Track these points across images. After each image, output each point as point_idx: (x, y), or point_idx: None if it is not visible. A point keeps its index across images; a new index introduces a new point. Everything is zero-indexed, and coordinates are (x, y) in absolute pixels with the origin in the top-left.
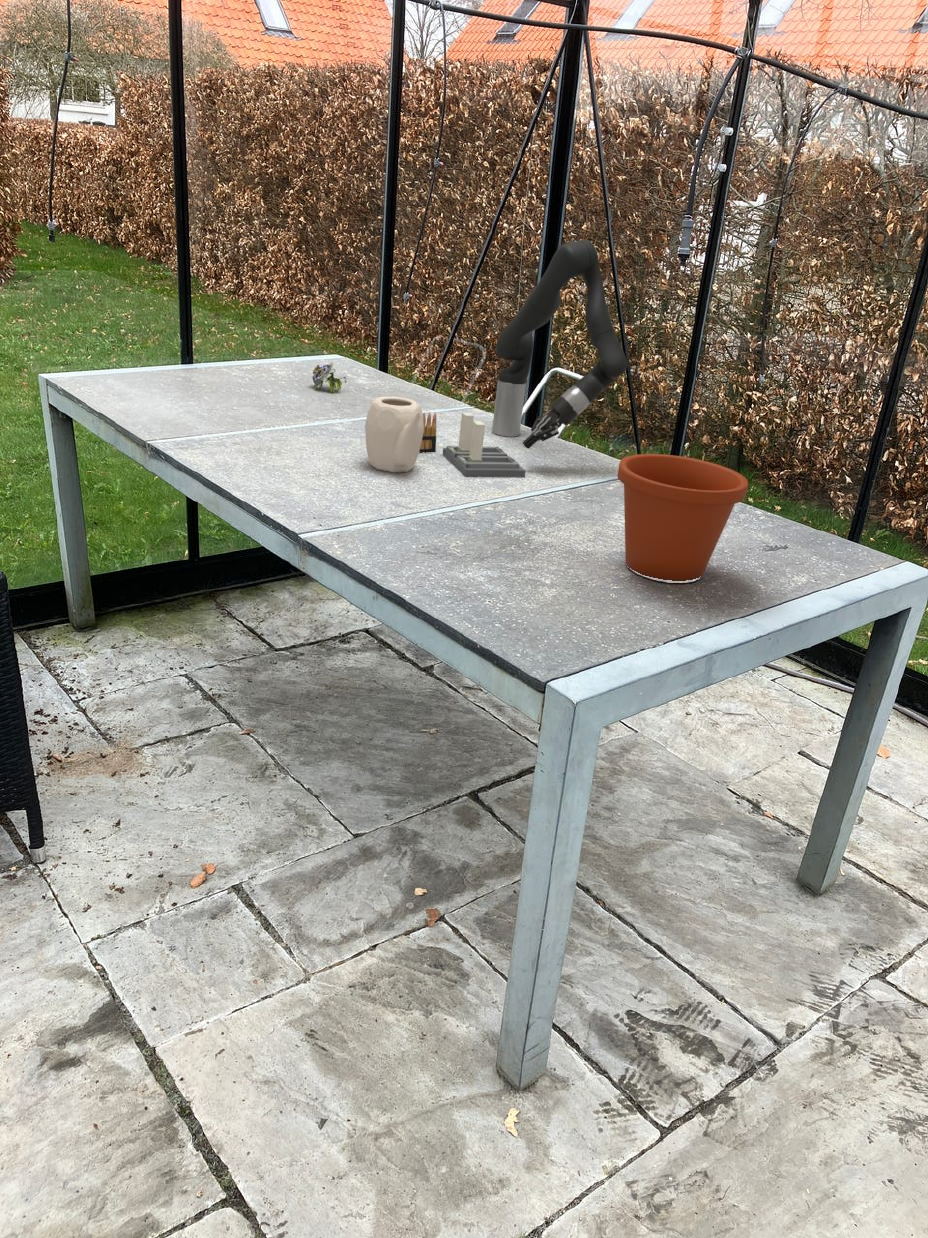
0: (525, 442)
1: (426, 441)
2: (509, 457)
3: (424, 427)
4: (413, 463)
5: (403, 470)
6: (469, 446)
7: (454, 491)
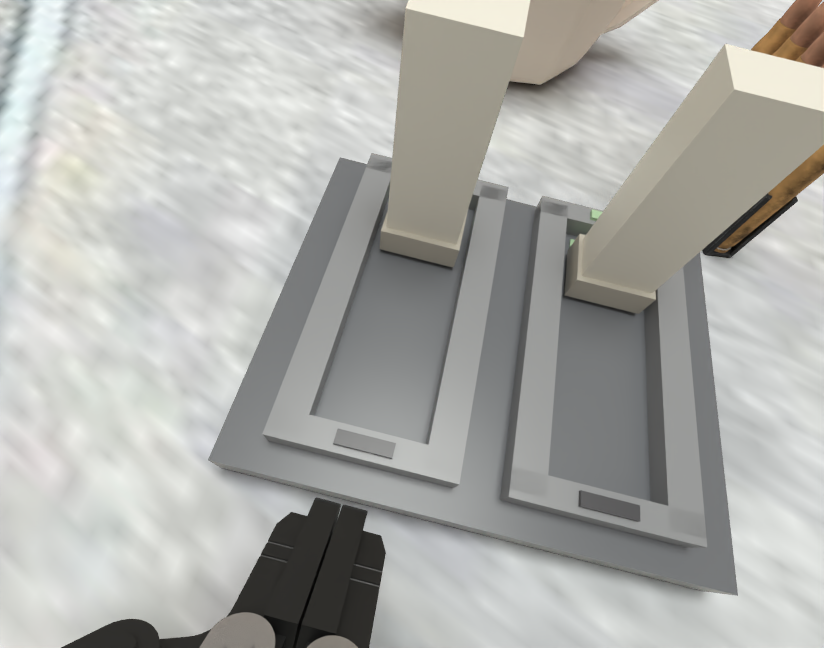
0: (311, 507)
1: None
2: (430, 462)
3: None
4: None
5: None
6: (590, 261)
7: (197, 66)
